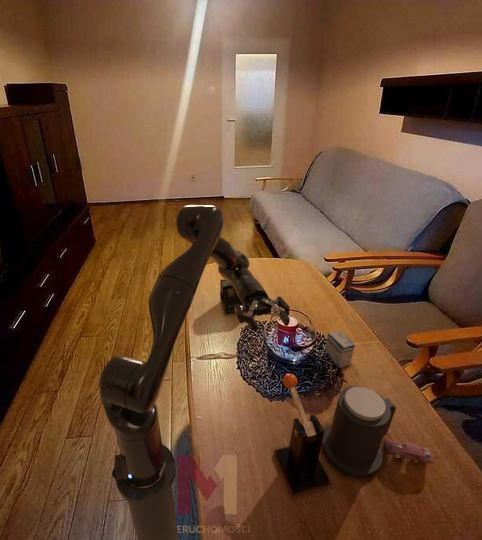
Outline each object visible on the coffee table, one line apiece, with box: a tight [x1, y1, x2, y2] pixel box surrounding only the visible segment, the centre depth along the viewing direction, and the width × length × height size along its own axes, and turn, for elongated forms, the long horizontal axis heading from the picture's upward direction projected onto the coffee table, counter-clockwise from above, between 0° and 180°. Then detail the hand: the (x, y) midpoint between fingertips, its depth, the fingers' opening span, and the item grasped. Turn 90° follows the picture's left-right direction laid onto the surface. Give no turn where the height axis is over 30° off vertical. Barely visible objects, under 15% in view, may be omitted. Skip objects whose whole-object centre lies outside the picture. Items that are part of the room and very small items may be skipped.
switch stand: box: [274, 413, 331, 495], centre depth 79 cm, size 10×9×16 cm
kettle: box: [321, 385, 397, 479], centre depth 82 cm, size 15×14×18 cm
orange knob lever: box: [282, 373, 317, 438], centre depth 79 cm, size 14×3×3 cm, turn 14°
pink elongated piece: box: [384, 437, 435, 464], centre depth 83 cm, size 10×5×7 cm, turn 73°
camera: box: [219, 278, 248, 315], centre depth 137 cm, size 11×14×15 cm
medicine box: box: [324, 329, 356, 369], centre depth 112 cm, size 8×4×9 cm, turn 21°
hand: (272, 326), depth 89 cm, fingers open, 8 cm apart
